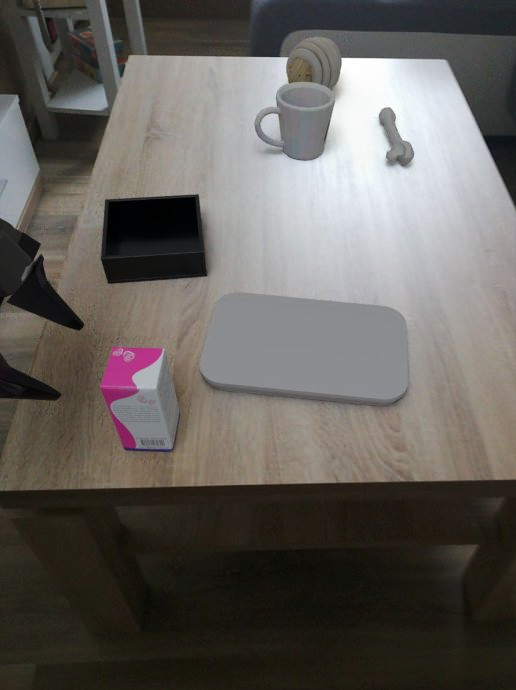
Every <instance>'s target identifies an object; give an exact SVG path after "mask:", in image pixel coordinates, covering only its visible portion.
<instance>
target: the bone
mask: <svg viewBox="0 0 516 690" xmlns="http://www.w3.org/2000/svg"><path fill="white" fill-rule="evenodd" d="M378 119H379V124H380V125H382V126H383V127H384V131H385V132H386V137H387V138H388V140H389V142H390V144H391V147H390V149H389V150H387V151H386V154H385V158H386V159H387V161H388V162H390V163H391V162H394V161H396V162H398V164H400V165H401V166H407V165H409V164H410V163H411V162H412V160H413V159H414V157H415V151H414V147H413V145H412V143H411V142H410V141H408V140H404V139H403V138H402V136H401V135H400V132H399V131H398V128H397V125H396V120H397V116H396V113H395V111H394V110H393V109H392V108H391V107H389V106H388V107H387V106H386V107H383V108H381V110H380V111H379V113H378Z"/></svg>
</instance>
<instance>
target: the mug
mask: <svg viewBox="0 0 516 690" xmlns="http://www.w3.org/2000/svg"><path fill="white" fill-rule="evenodd" d="M275 92H276V93H275V102H276V106H267V107H265V108H263V109H260V111H259V112H258V113H257V114H256V117H255V119H254V122H253V125H254V130H255V133H256V135H257V137H258V138H259V139H260V140H261V141H263V142H264V143H265V144H267V145H270V146H273V147H278V148H282V150H283V151H284V153H285V155H287V156H288V157H290V158H292V159H295V160H299V161H310V160H314V159H317V158H318V157H320V156H321V155H322V154H323V152H324V150H325V145H326V142H327V137H328V133H329V130H330V129H329V128H330V125H331V122H332V121H331V120H332V116H333V111H334V107H335V104H336V94H335V93H334V90H333V91H332V90H330V89H329V88H328V87H326V86H323V85H321V84H317V83H312V82H294V83H290V84H289V83H286V84H284V85H283V86H282V85H281V86H280V87H279V88H278V89H277V90H276V91H275ZM272 114H273V115H277V116H278V123H279V132H280V139H281V140H278V139H274V138H271V136H268V135H267V134H266V133H265V132H264V131H263V128H262V125H261V123H262V121H263V119H264V118H265V117H266V116H268V115H272Z"/></svg>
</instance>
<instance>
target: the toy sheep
mask: <svg viewBox="0 0 516 690" xmlns="http://www.w3.org/2000/svg"><path fill="white" fill-rule="evenodd" d="M342 58H343V57H342V53H341V51H340V49H339V47H338V45H337V43H335V42H334V41H333V40H332V39H330V38H328V37H326V36H325V37H324V36H312V37H307V38H304V39H302V40H301V41H300V42H298V43H297V45H295V46H294V47H293V48H292V49H291V51H290V53H289V56H288V57H287V60H286V66H285V72H286V77H287V84H290V83H294V82H312V83H317V84H321V85H323V86H326V87H328V88H329V89H330V90H332V91H333V92H334V88H335V87H336V85H337V84H338V82H339V80H340V75H341V70H342V64H343V61H342V60H343V59H342Z"/></svg>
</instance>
